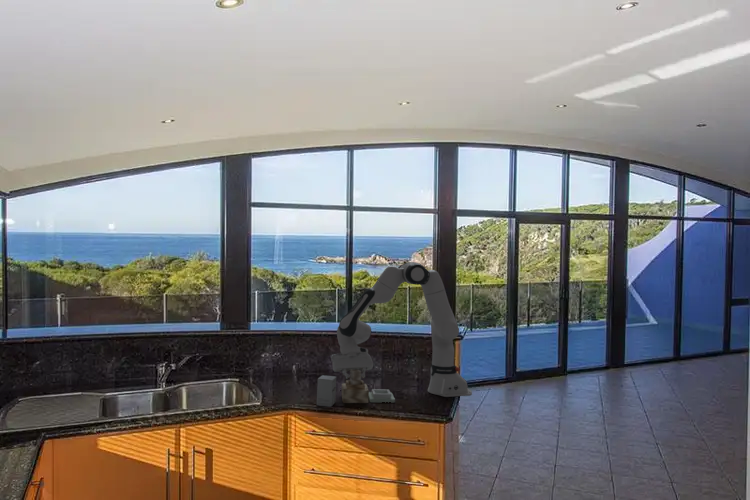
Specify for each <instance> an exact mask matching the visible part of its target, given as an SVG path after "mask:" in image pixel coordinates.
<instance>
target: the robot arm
mask: <svg viewBox="0 0 750 500" xmlns="http://www.w3.org/2000/svg"><path fill="white" fill-rule="evenodd" d="M440 275H441V274H440V273H439V271H437V270H434V269H427V268H426V267H425V266H424V265H423V264H421V263H418V262H414V261H411V262H410V261H409V262H408V261H407V262H405V263H403V264H401V265H399V266H397V265H388V266H387V267H386V268H385V269H384V270H383V272H382V273H381V274H380V275H379V277H378V278H377V280H376V282H375V283H374V284H373V285H372V286H371V287H370V288H369V289H366V290H365V291H364V292H363V293H362V294H361V296H360V297H359V298H358V299H357V301H356V302H355V303H354V305H353V306H352V307H351V309H350V310H349V311H348V312H347V313H346V314H345V315H344V316H343V317H342V318H341V319H340V321H339V325H338V327H337V329H336V336H337V341H338V346H339V351H340V352H339V353H333V354H331V355H330V361H331V363H332V371H333V372H334V373H339V372H340V373H342V374H343V376H345V379H346V380H350V373H348V372H350V370H355V369H358V370H360V371H361V379H365V378H366V371H372V369H373V368H374V362H373V358H372V356H371V355H370V354H369V349H368V348H365V347H361V346H358V345H360V344H363V343H365V342H366V341H368V340H369V339H370V338H371V336H372V328H371V326H370V325H369V324H368V323H366V322H364V321H362V320H360V318H361V317H362V315H363V314H364V313H365V311H366V310H367V309H368V308H369V306H371V305H373V304H374V305H375V304H386V303H388V302H390V301H391V300H392V299H393V298H394V296H395V294H396V293H397V291H398V289H399V287H400V286H401V285H402V284H404V283H407V284H410V285H415V286H416V285H417V286H418V285H419V286H421V289H422V292H423V296H424V299H425V304H426V306H427V310H428V312H429V315H430V317H431V321H430V327H431V328H430V329H431V331H430V332H431V343H432V345H431V346H432V356H431V364H430V365H431V366H430V380H429V384H428V388H427V392H428V393H430V394H433V395H435V396H436V395H437V396H441V397H444V398H449V397H454V398H455V397H470V396H472V395H473V392H472V390H471V389H470V388H469V387H468V383H467V380H466V379H465V377H463V376H462V375H461V374H460V373H458V372H460V367H458V366H457V365H455V364H454V363H455V346H454V341H453V340H455V339H457V337H458V335H459V333H460V327H459V324H458V323H457V320H456V317H455V315H454V312H453V310H452V308H451V306H450V302H449V299H448V296H447V295H448V294H447V293H446V292H447V291H446V289H445V285H444V283H443V279H442V277H441V276H440Z"/></svg>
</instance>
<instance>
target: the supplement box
mask: <svg viewBox="0 0 750 500" xmlns="http://www.w3.org/2000/svg"><path fill="white" fill-rule="evenodd" d="M336 394H337V376H334V375H323V374H322V375H320V376H319V377H318V378H317V388H316V406H320V407H329V408H331V407H333V405H334V404H335V403H336Z"/></svg>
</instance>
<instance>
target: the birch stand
mask: <svg viewBox="0 0 750 500" xmlns="http://www.w3.org/2000/svg"><path fill="white" fill-rule="evenodd" d="M369 392H370V390H369V388H368V385H367V383H365V382H364V380H361V385H350V379H346V380H345V383H341V400H342V403H343V404H369V398H368V397H369Z"/></svg>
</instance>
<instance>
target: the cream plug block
mask: <svg viewBox="0 0 750 500" xmlns="http://www.w3.org/2000/svg"><path fill="white" fill-rule="evenodd" d="M361 374H362V371H360V370H358V369H355V370H350V371H349V375H350V378H349V381H350V385H361V381H362V378H361Z"/></svg>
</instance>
